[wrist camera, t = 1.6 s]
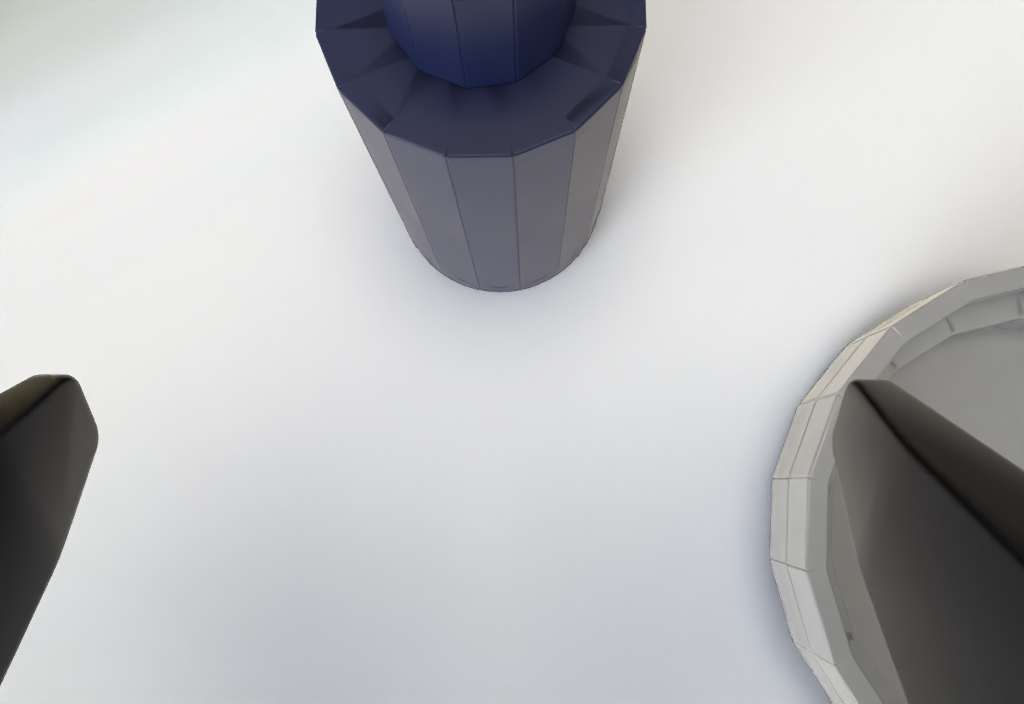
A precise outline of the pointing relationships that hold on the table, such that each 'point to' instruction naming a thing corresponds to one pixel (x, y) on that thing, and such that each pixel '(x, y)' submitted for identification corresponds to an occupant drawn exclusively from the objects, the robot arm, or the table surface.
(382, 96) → the dark blue vase
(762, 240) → the table surface
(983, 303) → the steel dish
